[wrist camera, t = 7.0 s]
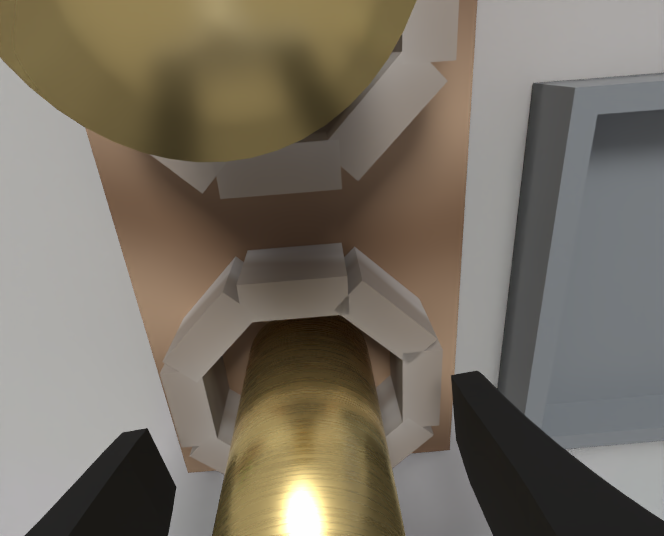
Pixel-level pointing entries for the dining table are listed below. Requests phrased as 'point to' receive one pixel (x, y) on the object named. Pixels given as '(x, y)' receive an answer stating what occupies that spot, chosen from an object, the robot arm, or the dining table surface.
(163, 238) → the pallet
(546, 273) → the grey square tray
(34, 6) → the cylinder
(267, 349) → the cylinder
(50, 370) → the dining table surface
